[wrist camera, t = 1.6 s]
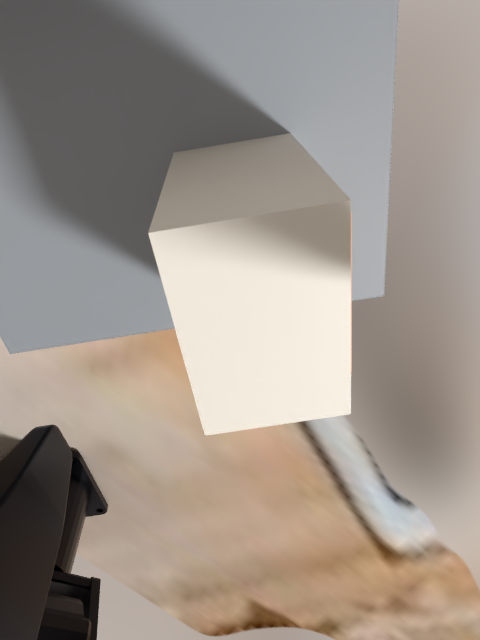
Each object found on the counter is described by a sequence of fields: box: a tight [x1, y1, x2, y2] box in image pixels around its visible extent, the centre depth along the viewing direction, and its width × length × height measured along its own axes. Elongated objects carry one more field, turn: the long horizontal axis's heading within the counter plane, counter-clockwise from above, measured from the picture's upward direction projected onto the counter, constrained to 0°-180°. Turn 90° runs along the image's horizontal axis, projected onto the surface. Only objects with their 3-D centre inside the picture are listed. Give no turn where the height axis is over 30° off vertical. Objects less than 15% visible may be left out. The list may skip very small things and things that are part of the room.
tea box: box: [148, 133, 352, 436], centre depth 14 cm, size 6×5×8 cm
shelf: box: [0, 0, 399, 354], centre depth 15 cm, size 16×18×6 cm
